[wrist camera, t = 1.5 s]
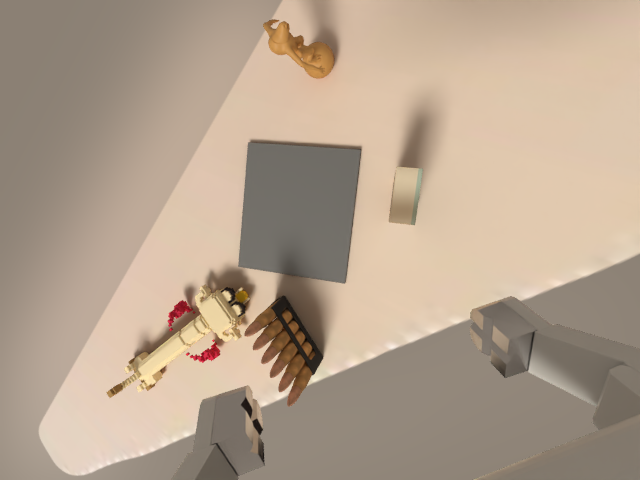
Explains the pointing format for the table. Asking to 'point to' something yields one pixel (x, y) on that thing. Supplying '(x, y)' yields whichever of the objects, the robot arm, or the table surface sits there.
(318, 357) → the ammunition clip
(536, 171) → the table surface
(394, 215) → the pale green streaked tile
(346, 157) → the rubber mat
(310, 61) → the figurine
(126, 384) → the cat figure
